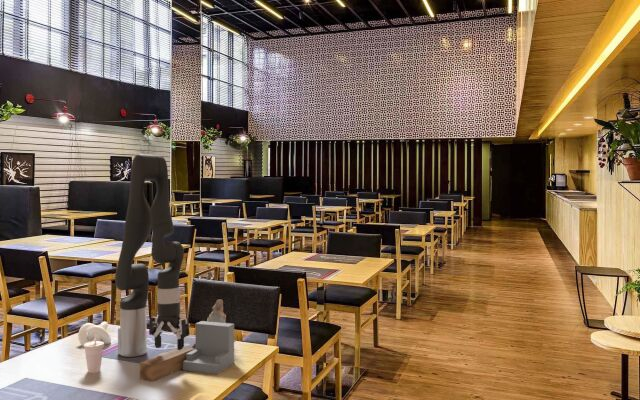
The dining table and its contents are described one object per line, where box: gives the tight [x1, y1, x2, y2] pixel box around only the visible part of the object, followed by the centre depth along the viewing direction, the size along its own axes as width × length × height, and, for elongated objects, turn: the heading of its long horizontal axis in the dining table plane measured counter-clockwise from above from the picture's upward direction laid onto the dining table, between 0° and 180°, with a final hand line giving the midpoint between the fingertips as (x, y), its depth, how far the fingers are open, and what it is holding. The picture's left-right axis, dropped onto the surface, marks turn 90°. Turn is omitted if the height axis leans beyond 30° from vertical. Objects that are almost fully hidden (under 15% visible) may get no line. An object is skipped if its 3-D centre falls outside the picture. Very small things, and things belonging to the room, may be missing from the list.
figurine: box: [208, 298, 227, 323], centre depth 201 cm, size 9×8×20 cm
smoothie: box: [83, 330, 105, 374], centre depth 170 cm, size 6×6×14 cm
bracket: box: [182, 320, 235, 375], centre depth 176 cm, size 13×12×14 cm
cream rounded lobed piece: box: [77, 321, 112, 347], centre depth 199 cm, size 11×12×9 cm
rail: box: [139, 346, 195, 383], centre depth 172 cm, size 6×20×6 cm, turn 153°
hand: (169, 348), depth 171 cm, fingers open, 8 cm apart
